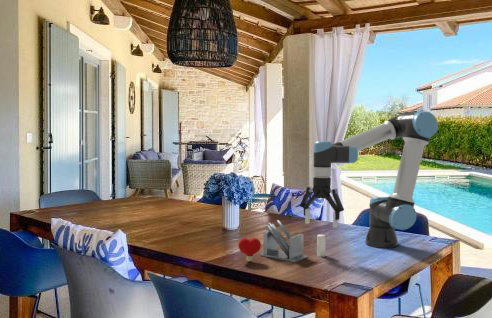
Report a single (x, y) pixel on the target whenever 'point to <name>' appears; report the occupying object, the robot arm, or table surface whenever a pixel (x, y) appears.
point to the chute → (282, 244)
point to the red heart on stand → (249, 247)
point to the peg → (321, 245)
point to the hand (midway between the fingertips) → (320, 225)
